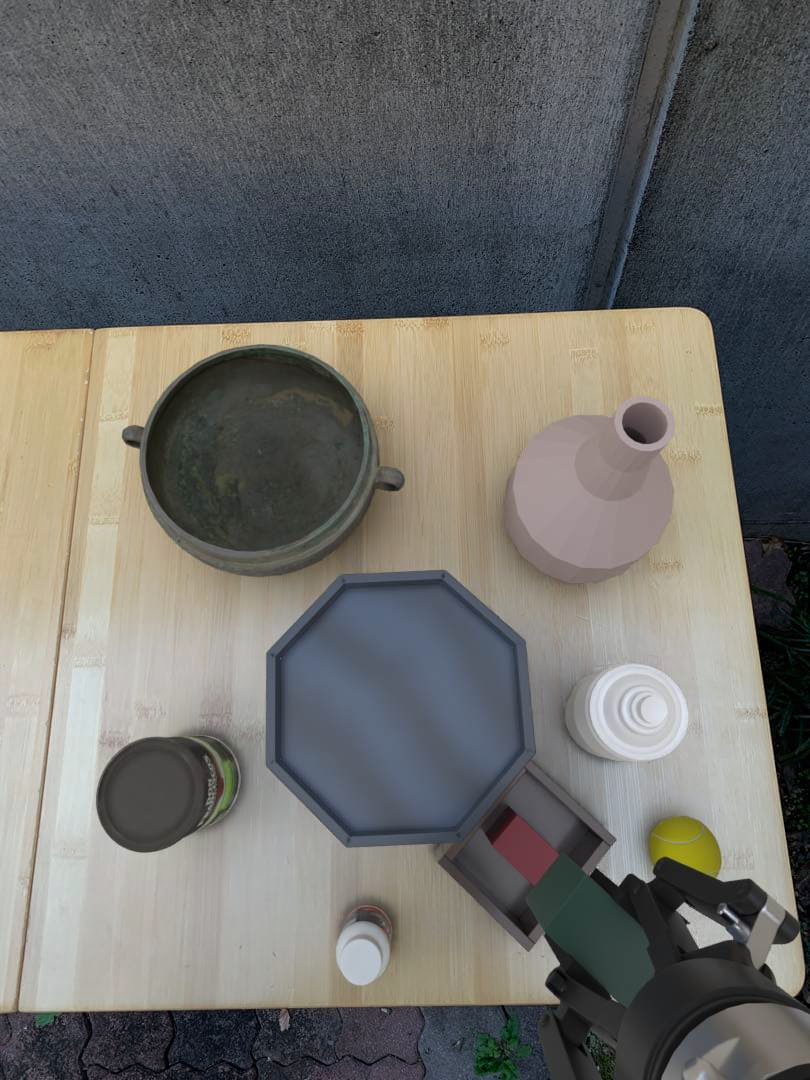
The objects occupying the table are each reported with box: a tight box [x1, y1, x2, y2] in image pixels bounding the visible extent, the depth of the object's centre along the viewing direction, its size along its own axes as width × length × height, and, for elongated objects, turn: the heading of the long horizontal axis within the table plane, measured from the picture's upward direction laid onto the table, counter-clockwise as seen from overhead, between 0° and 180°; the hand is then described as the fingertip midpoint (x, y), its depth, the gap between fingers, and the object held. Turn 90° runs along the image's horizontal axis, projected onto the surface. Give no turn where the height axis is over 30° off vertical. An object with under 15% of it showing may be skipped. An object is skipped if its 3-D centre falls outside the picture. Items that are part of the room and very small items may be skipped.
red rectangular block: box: [485, 806, 559, 886], centre depth 71 cm, size 4×6×7 cm, turn 48°
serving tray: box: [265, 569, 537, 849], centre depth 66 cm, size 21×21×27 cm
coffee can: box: [95, 734, 242, 854], centre depth 71 cm, size 10×10×14 cm
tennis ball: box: [648, 815, 723, 879], centre depth 72 cm, size 7×7×7 cm
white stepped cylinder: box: [564, 661, 689, 763], centre depth 67 cm, size 12×11×25 cm
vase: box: [502, 395, 676, 584], centre depth 70 cm, size 18×18×30 cm
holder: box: [435, 759, 618, 953], centre depth 72 cm, size 14×12×7 cm
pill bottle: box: [335, 904, 393, 987], centre depth 69 cm, size 5×5×10 cm
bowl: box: [121, 343, 406, 578], centre depth 79 cm, size 32×26×15 cm
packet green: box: [525, 852, 655, 1008], centre depth 42 cm, size 4×6×7 cm, turn 48°
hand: (586, 916), depth 44 cm, fingers closed on packet green, 4 cm apart
